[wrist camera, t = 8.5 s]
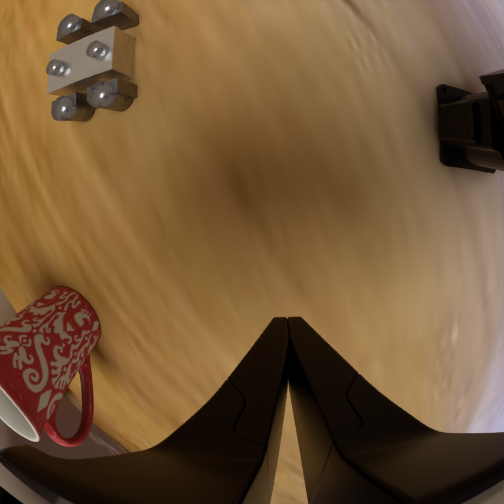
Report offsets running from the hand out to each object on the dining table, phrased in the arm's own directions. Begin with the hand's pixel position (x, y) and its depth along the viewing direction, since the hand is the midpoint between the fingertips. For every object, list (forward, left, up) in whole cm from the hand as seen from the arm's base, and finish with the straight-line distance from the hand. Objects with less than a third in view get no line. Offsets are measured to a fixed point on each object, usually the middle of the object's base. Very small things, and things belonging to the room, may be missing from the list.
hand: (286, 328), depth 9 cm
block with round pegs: (+13, -14, -12) cm, 22 cm away
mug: (+20, +10, -12) cm, 25 cm away
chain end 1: (+14, -14, -12) cm, 23 cm away
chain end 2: (+11, -14, -12) cm, 21 cm away
